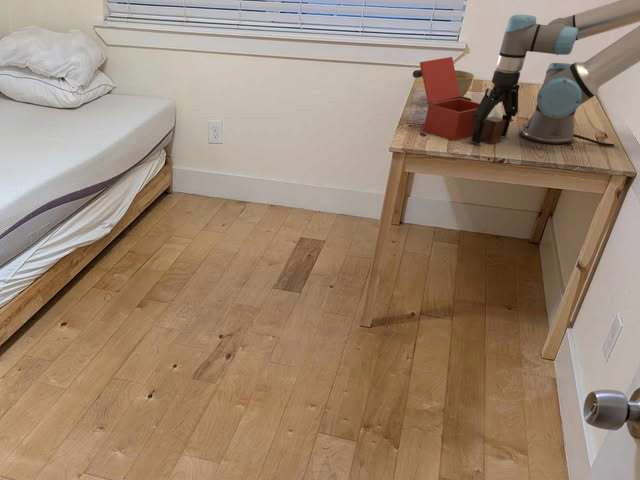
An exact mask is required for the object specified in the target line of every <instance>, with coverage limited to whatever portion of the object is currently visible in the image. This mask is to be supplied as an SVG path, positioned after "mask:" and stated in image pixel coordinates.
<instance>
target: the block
mask: <svg viewBox="0 0 640 480" xmlns="http://www.w3.org/2000/svg"><path fill="white" fill-rule="evenodd" d="M484 122H485V125H484V129H483V133H482V136H481V140H480V142H482V143H486V144H489V145H492V144H496V143H500V142H501V140H502V137H503V136H502V133H503V129H504V126H505V122H506V120H505V119H502V117H497V116H493V115H492V116H488V117H487V118H486V119H485V121H484Z"/></svg>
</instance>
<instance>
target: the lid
mask: <svg viewBox="0 0 640 480" xmlns="http://www.w3.org/2000/svg"><path fill="white" fill-rule="evenodd" d="M419 67H420V69H416V70H414V71H413V72H412V77H413V78H415V79H417V78H422V80H423V86H424V90H425V95H426V100H427V104H433V102H437V101H442V100H447V99H452V98H457V97H460V93H459V88H458V83H457V78H456V73H455V70H456V69H455V65H454V58H453V56H449V57H443V58H436V59H431V60H425V61H420V62H419Z"/></svg>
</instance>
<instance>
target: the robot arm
mask: <svg viewBox="0 0 640 480" xmlns="http://www.w3.org/2000/svg"><path fill="white" fill-rule="evenodd" d="M637 23H640V0H616V1H613V2H610V3H607V4H603V5H600V6H597V7H594V8H591V9H588V10H585V11H582V12H581V11H580V12H578V13H575V14H572V15H569V16H565V17H558V18H555V19H553V20H551V21H550V22H549V23H548V24H539V23H537V17H536V16H534V15H530V14H514V15H512V16H510V17H509V19H508V22H507V25H506V28H505V31H504V34H503V38H502V42H501V46H500V50H499V54H498V57H497V62H496V65H495V70H494V71H493V75H492V79H491V83H492V84H493V87H492V88H486V90H485V92H484V95H483V97H482V99H481V101H480V104H479V106H478V108H477V110H476V112H475V114H474V116H473V117H472V120H474V121H476V124H475V128H474V132H473V135H472V136H471V140H470V142H471V143H475V144H480V143H481V141H480V140H481V136H482V133H483V129H484V125H485V122H484V121H485V119H486V118H488V117H489V115H490V113H491V112H492V111H493V109H494V108H495V107H496V106H498V105H499V103H500V104H501V103H502V107H503V110H504V114H502V116H501V119H505V120H506V122H505V126H504V129H503V133H502V137H503V138H506V137H507V134H508V130H509V127H510V124H511V121H512V117H516V116H517V114H518V112H519V92H520V91H519V90H520V84H518V83H519V80H520V76H521V71H522V70H523V66H524V63H525V60H526V56H527V52H530V53H541V54H551V55H556V56H559V55H560V56H562V55H565V56H568V55H570V54H571V53H572V51H573V48H574V45H575V42H576V41H580V40H582V39H585V38H589V37H593V36H596V35H599V34H603V33H607V32H610V31H614V30H617V29H620V28H624V27H627V26H631V25H634V24H637ZM639 62H640V25H638V26H637V27H635V28H634V29H632V30H631V31H629V32H627V33H626V34H625V35H623V36H622V37H620V38H619V39H617V40H616V41H614V42H612V43H611V44H609V45H608V46H607V47H605V48H604V49H602V50H600V51H599V52H597V53H596V54H594V55H593V56H591V57H590V58H588V59H587V60H585V61H584V62H579V61H578V62H577V61H574V63H567V62H566V63H565V62H552V63H550V64H549V65H548V67H547V70H546V72H545V76H544V80H543V83H542V85H541V87H540V89H539V91H538V92H537V97H536V106H535V110H534V112H533V114H532V115H531V116H530V118H529V119H528V121H527V122H526V123H525V122H524V123H523V125H522V128H523V129H522V131H521V136H522V137H523V138H525V139H527V140H530V141H533V142H538V143H542V144H551V145H561V144H563V145H564V144H568V143H571V142H573V138H577V139H580V140H583V141H587V142H590V143H593V144H595V145H598V146H599V145H600V146H605V147H612V148H613V147H615V143H609V142H602V141H598V140H595V139H593V138H589V137H586V136H582V135H578V134H575V114H576V111H577V109H578V108H579V107H580V106H581V105H582V104H584V103H586V102H587V101H589V100H591V99H592V98H594V97H596V96H597V94H598V92H599V88H600V87H602V86H603V85H605V84H606V83H608V82H610V81H611V80H613V79H614V78H616V77H618V76H619V75H621V74H622V73H624V72H626V71H627V70H628V69H631V67H633V66H635V65H636V64H638V63H639ZM487 116H488V117H487Z"/></svg>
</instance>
